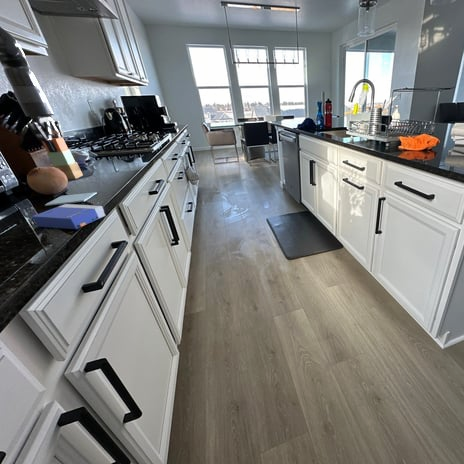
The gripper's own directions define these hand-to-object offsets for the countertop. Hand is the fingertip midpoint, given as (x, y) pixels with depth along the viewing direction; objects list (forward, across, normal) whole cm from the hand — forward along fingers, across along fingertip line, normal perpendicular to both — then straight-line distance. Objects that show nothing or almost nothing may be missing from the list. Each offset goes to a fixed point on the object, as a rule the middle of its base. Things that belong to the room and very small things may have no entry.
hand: (58, 150), depth 97 cm
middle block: (+5, 0, 0) cm, 5 cm away
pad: (+11, +32, +16) cm, 37 cm away
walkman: (+9, +49, +20) cm, 54 cm away
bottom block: (+11, 0, 0) cm, 11 cm away
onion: (+11, +22, +6) cm, 25 cm away
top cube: (0, 0, 0) cm, 0 cm away
